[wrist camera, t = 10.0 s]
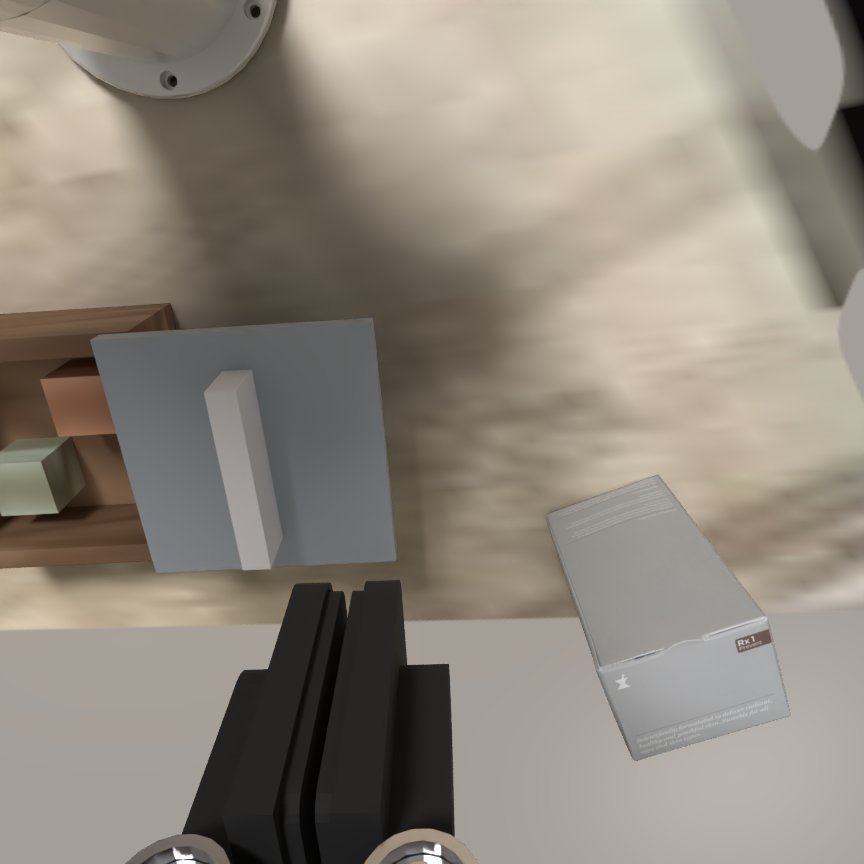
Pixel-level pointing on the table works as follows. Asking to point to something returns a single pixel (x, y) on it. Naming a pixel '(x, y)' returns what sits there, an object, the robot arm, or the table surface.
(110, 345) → the cover
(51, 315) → the box
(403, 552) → the table surface
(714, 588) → the skincare box
